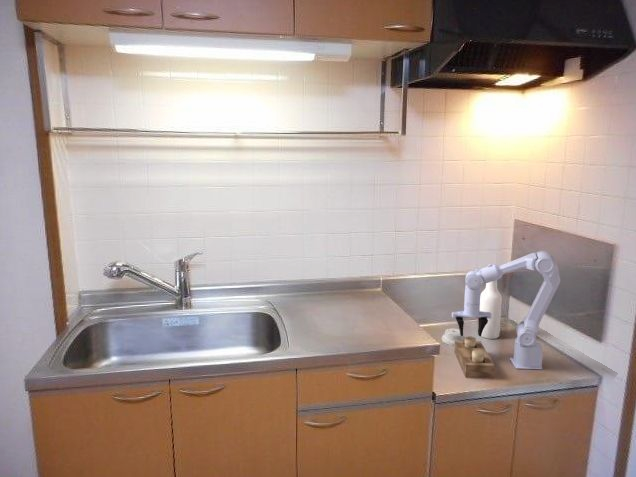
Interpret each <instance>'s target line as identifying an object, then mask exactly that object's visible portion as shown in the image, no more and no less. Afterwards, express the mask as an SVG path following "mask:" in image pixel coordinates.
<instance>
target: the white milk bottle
mask: <svg viewBox="0 0 636 477" xmlns="http://www.w3.org/2000/svg"><path fill="white" fill-rule="evenodd" d="M502 303H503V298H502V294H501V293H500V292H499V289H498V280H495V281H492V282H489V283H486V284H485V288H484V289H483V290H482V291H481V293H480V311H482V312H490V313H491V314H492V315H491V319H488V318H487V320H488V323H487V324H486V326H485V327H484V329H483V331H482V334H481V336H480V337H481V338H482V339H483V338H484V339H487V340H496V339H498V338H499V337H500V332H501V330H500V329H501V315H502Z"/></svg>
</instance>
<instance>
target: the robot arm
mask: <svg viewBox="0 0 636 477" xmlns="http://www.w3.org/2000/svg"><path fill="white" fill-rule="evenodd" d="M522 269H527V270H531V271H535V269H536V270H537V271H538V273H539V274H540V275H542V278H543V282H542V284H541V286H540V288H539V290H538V292H537V294H536V296H535V297H534V299H533V302H532V304H531V306H530V308H529V310H528V312H527V313H526V315H525V316H524V317H523V319H522V320H521V321H520V322H518V323H517V325H516V327H515V331H516V334H517V335H516V337H515V339H514V348H513V350H514V351H513V357H510V358H509V360H510V361H511V364H512V365H513V366H514V367H515V369H517V370H518V369H519V370H543V367H542V365H543V353H544V350H543V346H542V344H541V343H540V342H538V341H537V334H538V331H539V327H540V323H541V321H542V319H543V317H544V316H545V314H546V311H547V309H548V308H549V305H550V304H551V301H552V300H553V297H554V296H555V294H556V291H557V290H558V288H559V285H560V283H561V276H560V271H559V266H558V265H557V263H556V261H555V259H554V257H553V256H552V254H551V253H550V252H549V251H547V250H539V251H537V252H531V253H529V254H526V255H524V256H522V257H519V258H516V259H514V260H511V261H509V262H506V263H504V264H501V265H497V263H496V264H492V263H489V264H487V266H486V267H483V268H480V269H479V268H476V269H475V270H469V271H468V272H467V273H466V275H465V280H464V282H465V288H464V289H465V290H464V298H463V299H464V300H463V301H464V302H463V304H464V305H463V310H461V311H460V310H459V311H451V318H452V319H455V320H456V323H457V325H458V330H460V335H461V336H464V326H465V321H464V319H466V318H467V319H478V326H477V328H478V329H477V335H478V336H479V337H481V334H482V331H483V329H484V327H485V326H486V324H487V323H488V320H487V318H488V319H491V315H492V314H491V313H490V312H482V311H480V295H481V293H482V291H481V287H482V285H486V283H489V282H492V281H495V280H497V281H498V280H500V279H501V278H502V277H503V275H506V274H508V273H512V272H515V271H520V270H522Z"/></svg>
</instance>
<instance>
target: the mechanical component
mask: <svg viewBox="0 0 636 477" xmlns="http://www.w3.org/2000/svg"><path fill="white" fill-rule="evenodd" d="M465 337H466V336H465V335H463V336H461V335H460V330H459V328H449V329H448V328H446V329H445V330H444V334H442V336H441V340H442V343H444V344H447V345H450V346H455V341H465Z"/></svg>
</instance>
